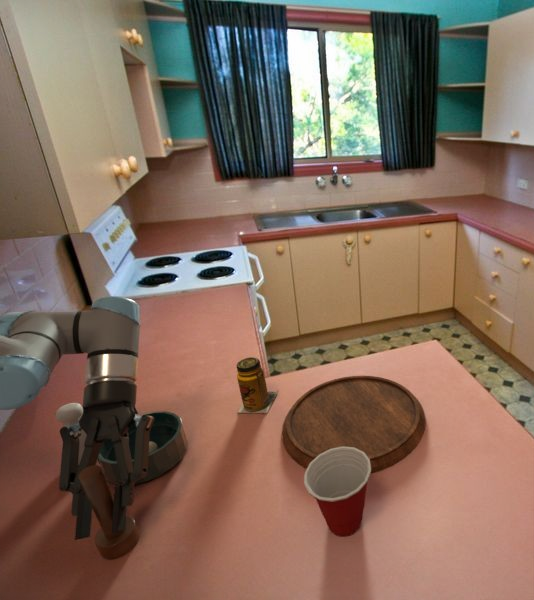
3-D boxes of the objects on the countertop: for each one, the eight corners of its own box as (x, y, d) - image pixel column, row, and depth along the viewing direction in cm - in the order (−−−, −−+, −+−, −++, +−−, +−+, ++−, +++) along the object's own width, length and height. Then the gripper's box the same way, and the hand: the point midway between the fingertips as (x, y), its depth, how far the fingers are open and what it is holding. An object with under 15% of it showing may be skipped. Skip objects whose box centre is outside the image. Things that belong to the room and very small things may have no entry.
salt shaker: (108, 457, 89) (88, 406, 83) (76, 473, 85) (53, 421, 80) (100, 444, 92) (80, 394, 87) (68, 459, 88) (46, 408, 83)
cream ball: (136, 443, 87) (138, 458, 87) (145, 443, 86) (146, 458, 85) (151, 439, 90) (152, 454, 89) (159, 439, 88) (161, 454, 88)
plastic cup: (306, 507, 76) (298, 455, 71) (365, 488, 79) (360, 438, 74) (318, 562, 66) (309, 506, 62) (383, 538, 70) (380, 484, 65)
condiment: (237, 413, 101) (227, 370, 96) (250, 391, 108) (242, 351, 104) (267, 413, 100) (258, 370, 95) (278, 392, 108) (271, 351, 103)
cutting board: (317, 504, 76) (315, 493, 75) (263, 411, 101) (261, 402, 100) (454, 433, 92) (454, 424, 91) (379, 368, 117) (378, 360, 116)
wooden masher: (96, 564, 67) (61, 492, 60) (104, 534, 72) (73, 463, 65) (136, 552, 69) (106, 480, 62) (142, 523, 74) (115, 453, 67)
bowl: (94, 496, 79) (83, 472, 77) (117, 441, 93) (109, 419, 90) (182, 475, 83) (174, 452, 81) (192, 426, 97) (186, 405, 94)
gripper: (173, 381, 78) (170, 520, 70) (68, 395, 75) (52, 543, 67) (157, 372, 71) (152, 525, 63) (40, 387, 68) (19, 551, 60)
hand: (100, 534), depth 65 cm, fingers open, 4 cm apart
